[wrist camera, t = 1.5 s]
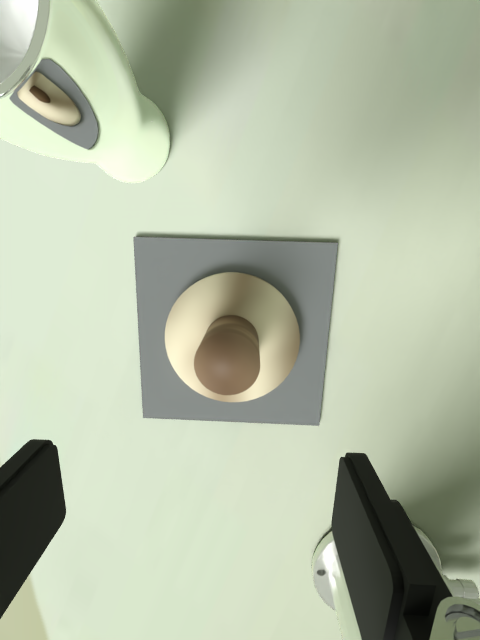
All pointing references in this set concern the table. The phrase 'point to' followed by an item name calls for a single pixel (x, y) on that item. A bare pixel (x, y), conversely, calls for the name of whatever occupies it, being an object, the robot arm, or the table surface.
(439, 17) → the table surface
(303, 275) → the mat
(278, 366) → the lid
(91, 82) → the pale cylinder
